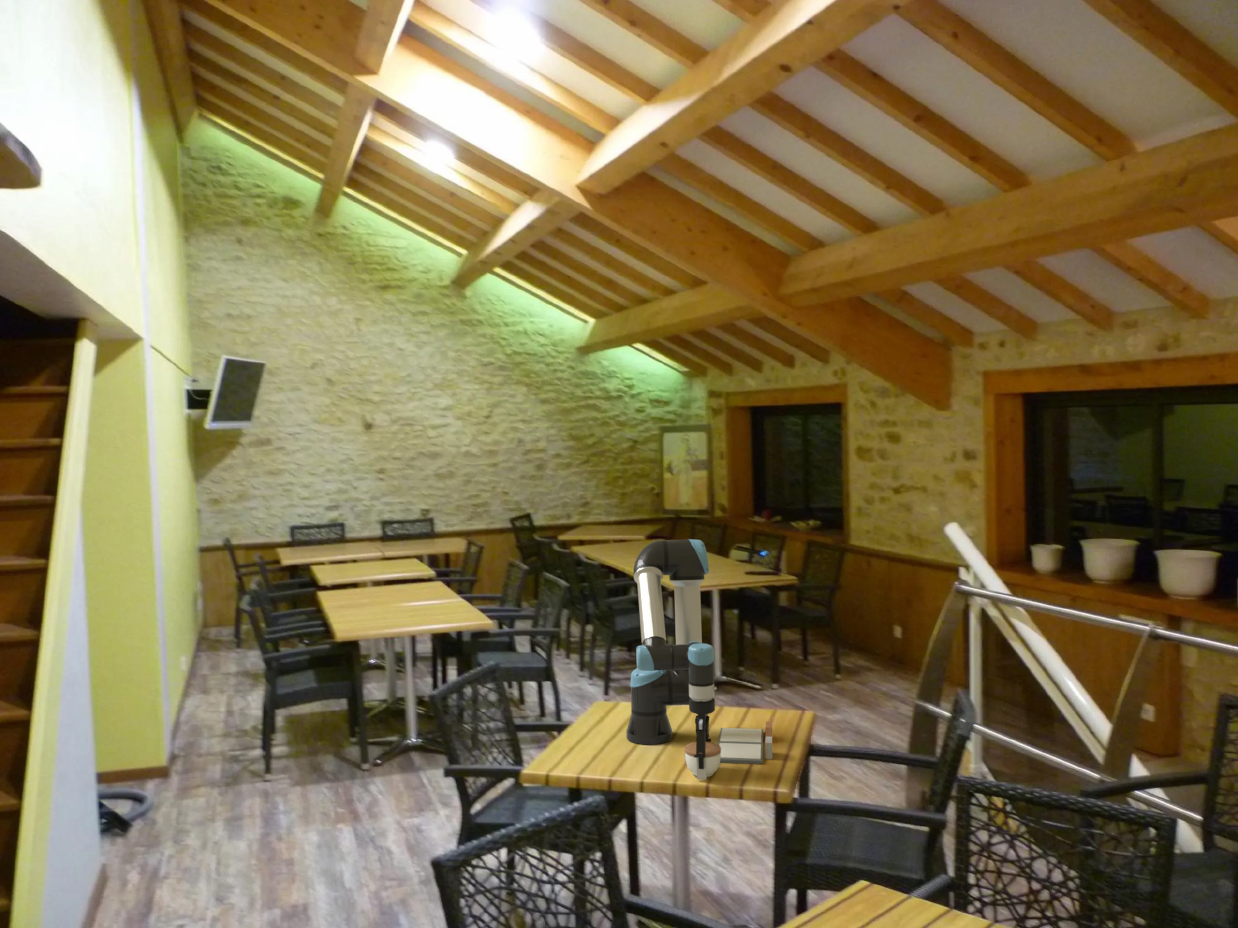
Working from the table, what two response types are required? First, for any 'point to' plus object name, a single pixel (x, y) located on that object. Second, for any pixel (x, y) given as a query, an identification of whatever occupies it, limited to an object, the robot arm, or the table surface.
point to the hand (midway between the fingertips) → (703, 771)
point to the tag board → (745, 745)
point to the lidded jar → (711, 757)
